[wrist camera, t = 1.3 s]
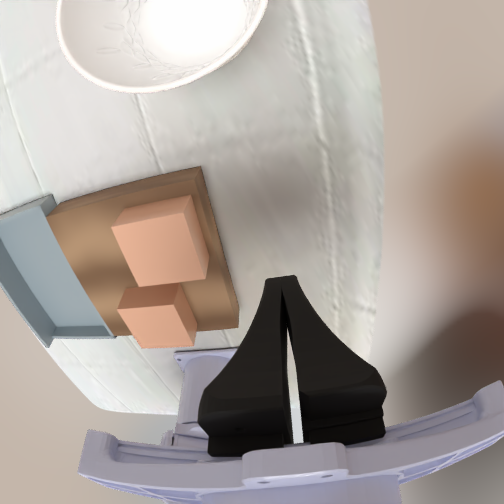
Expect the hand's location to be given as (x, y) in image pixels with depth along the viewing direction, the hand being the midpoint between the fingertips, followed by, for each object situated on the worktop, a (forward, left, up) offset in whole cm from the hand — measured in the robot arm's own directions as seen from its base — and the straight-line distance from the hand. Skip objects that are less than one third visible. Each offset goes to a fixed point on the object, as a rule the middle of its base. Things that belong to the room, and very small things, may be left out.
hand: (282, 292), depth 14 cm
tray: (-3, +23, -10) cm, 25 cm away
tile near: (0, +8, -7) cm, 11 cm away
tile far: (-7, +11, -7) cm, 15 cm away
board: (-3, +11, -10) cm, 15 cm away
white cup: (+14, +3, -10) cm, 17 cm away
